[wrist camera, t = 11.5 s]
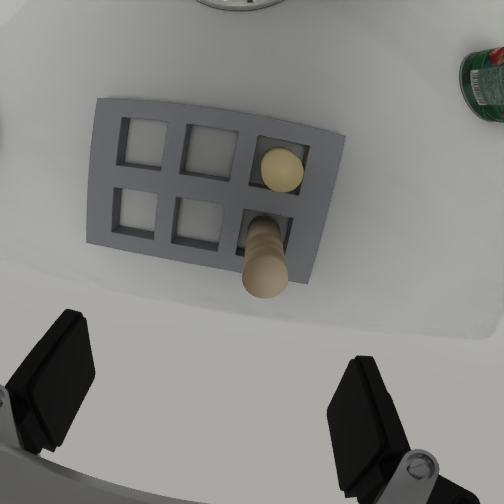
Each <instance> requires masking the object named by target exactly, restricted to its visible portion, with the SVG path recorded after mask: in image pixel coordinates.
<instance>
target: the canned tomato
mask: <svg viewBox="0 0 504 504" xmlns="http://www.w3.org/2000/svg"><path fill="white" fill-rule="evenodd" d="M460 86H461V90H462V93H463V96H464V98H465V100H466V102H467V104H468V106H469V107H470V108H471V110H472V111H473V112H474V113H475V114H476V115H477V116H478V117H480V118H481V119H483V120H486V121H491V122H494V121H496V122H504V47H500V48H495V49H490V50H486V51H481V52H474V53H471V54H469V55H468V56H466V58H465V59H464V60H463V62H462V64H461V68H460Z"/></svg>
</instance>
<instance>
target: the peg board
mask: <svg viewBox="0 0 504 504" xmlns="http://www.w3.org/2000/svg"><path fill="white" fill-rule="evenodd" d="M130 118H141V119H151V120H161V121H168V128H167V134H166V140H165V147H164V154H163V161H162V168H161V167H153V166H146V165H139V164H131V163H124V159H125V150H126V142H127V135H128V128H129V121H130ZM191 124H194V125H201V126H208V127H215V128H221V129H227V130H233V131H239V133H238V138H237V143H236V149H235V154H234V159H233V165H232V170H231V176H230V179H229V178H224V177H218V176H212V175H206V174H200V173H194V172H187V171H184V166H185V160H186V153H187V147H188V141H189V135H190V129H191ZM258 135H261V136H266V137H271V138H276V139H281V140H286V141H290V142H295V143H300V144H304V145H307V146H306V150H305V155H304V159H303V164H302V163H301V161H300V160H299V159H298V158H297V157H296V156H295V155H294V154H292V153H291V152H290V151H288V150H287V149H285V148H283V147H272V148H270V149H268V150H267V151H266V152H265V153H264V154H263V156H262V158H261V173H262V178H263V181H264V182H265V184H266V185H262V184H257V183H251V182H249V178H250V173H251V168H252V163H253V158H254V153H255V148H256V143H257V137H258ZM345 138H346V136H345V135H341V134H337V133H333V132H329V131H326V130H322V129H318V128H313V127H309V126H305V125H301V124H296V123H292V122H287V121H282V120H278V119H273V118H268V117H263V116H257V115H252V114H246V113H240V112H234V111H228V110H222V109H215V108H208V107H201V106H193V105H184V104H175V103H166V102H155V101H142V100H127V99H105V98H97V104H96V110H95V118H94V125H93V133H92V142H91V152H90V163H89V176H88V193H87V227H86V243H90V244H95V245H100V246H105V247H110V248H115V249H119V250H124V251H129V252H135V253H140V254H145V255H150V256H155V257H160V258H165V259H170V260H176V261H181V262H186V263H191V264H197V265H202V266H207V267H213V268H218V269H224V270H229V271H235V272H240V273H243V266H244V257H245V249H243V248H238V247H237V242H238V236H239V231H240V226H241V220H242V215H243V210H244V209H250V210H255V211H260V212H265V213H271V214H276V215H281V216H286V217H290V221H289V225H288V230H287V234H286V238H285V242H284V246H283V250H284V256H285V261H286V267H287V272H288V281H291V282H297V283H303V284H308V282H309V278H310V275H311V271H312V268H313V264H314V261H315V257H316V254H317V250H318V247H319V243H320V239H321V236H322V232H323V228H324V224H325V220H326V217H327V213H328V209H329V205H330V201H331V197H332V193H333V189H334V185H335V181H336V177H337V173H338V168H339V164H340V160H341V156H342V151H343V147H344V142H345ZM296 187H297V191H292V190H293V189H295V188H296ZM122 188H124V189H131V190H138V191H144V192H151V193H157V194H158V202H157V211H156V222H155V232H150V231H145V230H139V229H134V228H128V227H122V226H119V219H120V203H121V190H122ZM180 197H182V198H188V199H194V200H199V201H205V202H211V203H217V204H222V205H225V210H224V216H223V222H222V228H221V234H220V240H219V244H216V243H210V242H205V241H199V240H194V239H188V238H183V237H177V236H175V235H176V227H177V218H178V210H179V202H180Z"/></svg>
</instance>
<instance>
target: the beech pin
mask: <svg viewBox="0 0 504 504" xmlns="http://www.w3.org/2000/svg"><path fill="white" fill-rule="evenodd" d="M242 281H243V285H244V287H245V288H246V290H247V291H248V292H249V293H250V294H252V295H253V296H255V297H258V298H272V297H275V296H277V295H278V294H280V293H281V292H282V291H283V290H284V289H285V287H286V285H287V283H288V272H287V267H286V261H285V256H284V250H283V245H282V239H281V234H280V228H279V225H278V223H277V221H276V220H275V219H274V218H272V217H270V216H267V215H261V216H257V217H255V218H254V219H253V220H252V221H251V222H250V223H249V226H248V231H247V240H246V249H245V257H244V266H243V275H242Z"/></svg>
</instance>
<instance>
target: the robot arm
mask: <svg viewBox="0 0 504 504" xmlns="http://www.w3.org/2000/svg"><path fill="white" fill-rule="evenodd" d="M197 1H199V2H201V3H204V4H206V5H208V6H212V7H215V8H219V9H225V10H234V11H237V10H253V9H259V8H264V7H267V6H270V5H274V4H276V3H278V2H280V1H282V0H197ZM248 1H252V2H253V3H247V2H248ZM94 378H95V367H94V362H93V356H92V351H91V345H90V340H89V333H88V327H87V320H86V318H85V317H83V314H82V313H81V312H78V311H74V310H71V309H66V310H65V311H64V312H63V313H62V314H61V315H60V316H59V318H58V319H57V320H56V321H55V322H54V324H53V325H52V326H51V327H50V329H49V330H48V331H47V332H46V333H45V335H44V336H43V337H42V338H41V340H40V341H38V343H37V344H36V345H35V347H34V348H33V349H32V350H31V352H30V353H29V354H28V356H27V357H26V358H25V359H24V361H23V362H22V363H21V365H20V366H19V367H18V369H17V370H16V371H15V373H14V374H13V376H12V377H11V378H10V380H9V381H8V383H7V384H6V385H5V387H4V386H2V385H0V504H206V503H199V502H193V501H187V500H181V499H176V498H170V497H166V496H161V495H156V494H152V493H148V492H143V491H139V490H135V489H132V488H128V487H124V486H121V485H117V484H114V483H110V482H107V481H104V480H100V479H98V478H94V477H92V476H89V475H86V474H83V473H80V472H77V471H75V470H72V469H69V468H66V467H64V466H61V465H59V464H56V463H53V462H51V461H49V460H46V459H44V458H41V457H40V452H41V450H42V448H44V449H47V450H49V451H51V452H54V451H55V449H56V447H57V446H58V447H60V446H61V445H62V443H63V441H64V439H65V437H66V434H67V432H68V430H69V428H70V426H71V424H72V422H73V420H74V418H75V416H76V414H77V411H78V410H79V408H80V406H81V404H82V402H83V400H84V398H85V396H86V394H87V392H88V390H89V388H90V386H91V384H92V382H93V380H94ZM327 420H328V425H329V430H330V436H331V441H332V447H333V452H334V458H335V464H336V469H337V476H338V481H339V487H340V490H342V491H344V493H345V498H350V497H357V501H358V503H359V504H480V502H479V499H478V498H477V496H476V495H474V494H473V493H472V492H470V491H468V490H466V489H464V488H462V487H461V486H459V485H457V484H455V483H453V482H451V481H450V480H448V479H446V478H444V477H442V476H441V475H439V464H438V462H437V460H436V458H435V457H434V456H433V455H432V454H430V453H429V452H427V451H424V450H420V449H415V450H411V449H410V446H409V443H408V440H407V438H406V435H405V432H404V429H403V427H402V424H401V421H400V419H399V416H398V413H397V411H396V408H395V405H394V403H393V400H392V398H391V396H390V394H389V393H388V392H387V390H386V387H385V385H384V382H383V380H382V377H381V375H380V372H379V370H378V367H377V365H376V362H375V360H374V358H373V357H371V356H356V357H355V359H351V360H350V362H349V364H348V366H347V368H346V370H345V373H344V375H343V377H342V379H341V381H340V383H339V385H338V388H337V390H336V392H335V394H334V396H333V398H332V400H331V402H330V404H329V406H328V409H327Z"/></svg>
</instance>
